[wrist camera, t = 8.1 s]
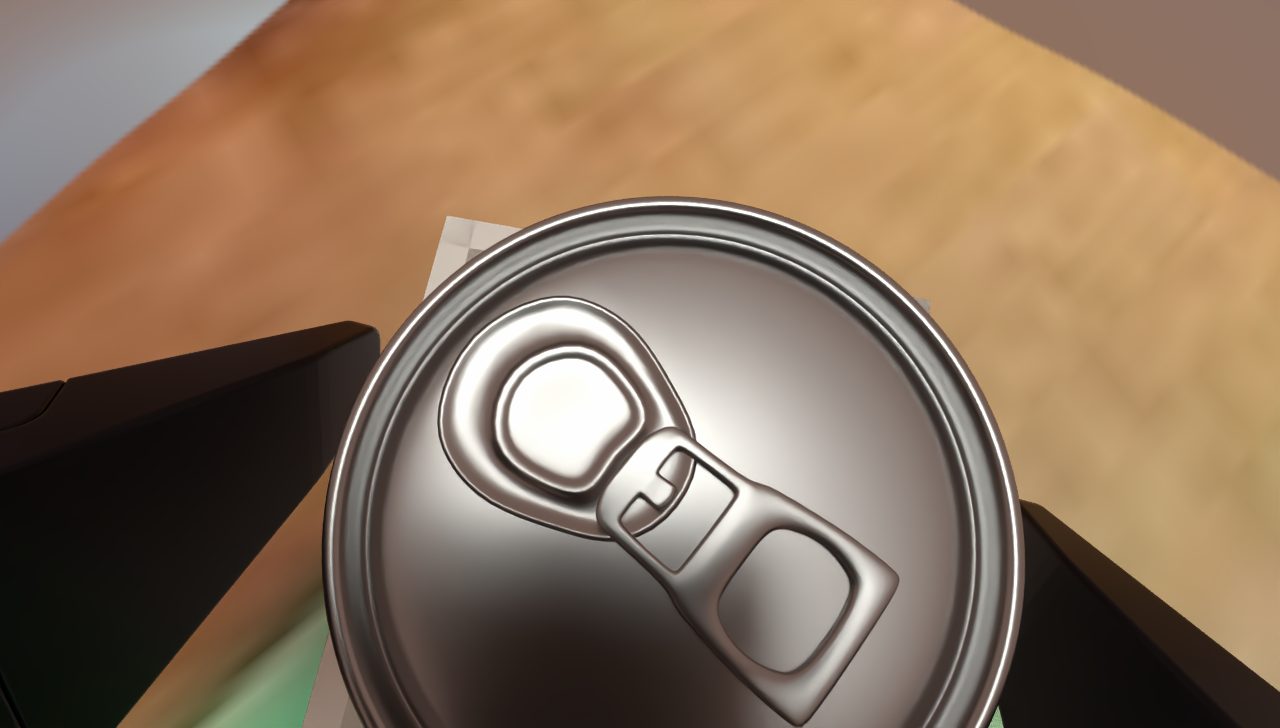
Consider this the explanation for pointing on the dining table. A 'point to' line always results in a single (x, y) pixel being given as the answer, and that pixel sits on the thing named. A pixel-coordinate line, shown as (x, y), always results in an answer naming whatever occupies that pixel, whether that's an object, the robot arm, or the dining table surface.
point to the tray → (330, 707)
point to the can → (672, 491)
